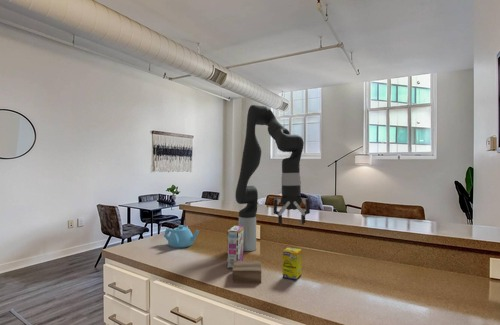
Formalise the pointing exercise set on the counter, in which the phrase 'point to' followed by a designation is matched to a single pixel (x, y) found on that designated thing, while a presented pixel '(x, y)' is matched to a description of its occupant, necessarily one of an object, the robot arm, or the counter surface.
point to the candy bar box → (234, 245)
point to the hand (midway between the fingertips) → (291, 224)
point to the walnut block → (247, 272)
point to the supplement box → (292, 263)
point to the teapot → (180, 236)
